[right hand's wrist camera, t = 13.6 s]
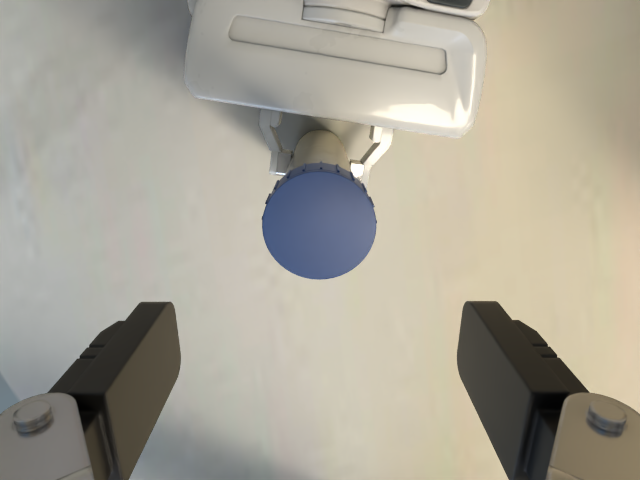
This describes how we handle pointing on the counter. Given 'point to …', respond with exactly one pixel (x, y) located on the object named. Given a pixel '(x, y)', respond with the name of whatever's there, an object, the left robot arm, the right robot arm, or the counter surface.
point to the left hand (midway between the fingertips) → (318, 180)
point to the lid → (319, 221)
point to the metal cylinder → (319, 150)
